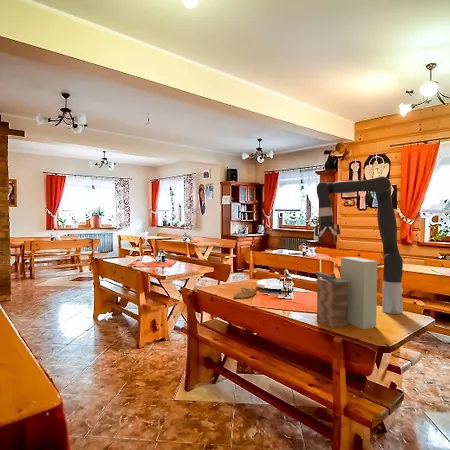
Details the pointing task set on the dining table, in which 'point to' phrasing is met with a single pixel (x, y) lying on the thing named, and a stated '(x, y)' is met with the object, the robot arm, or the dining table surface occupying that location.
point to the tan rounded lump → (245, 292)
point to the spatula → (331, 278)
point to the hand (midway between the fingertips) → (328, 242)
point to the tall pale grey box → (361, 290)
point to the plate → (262, 283)
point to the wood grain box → (332, 303)
